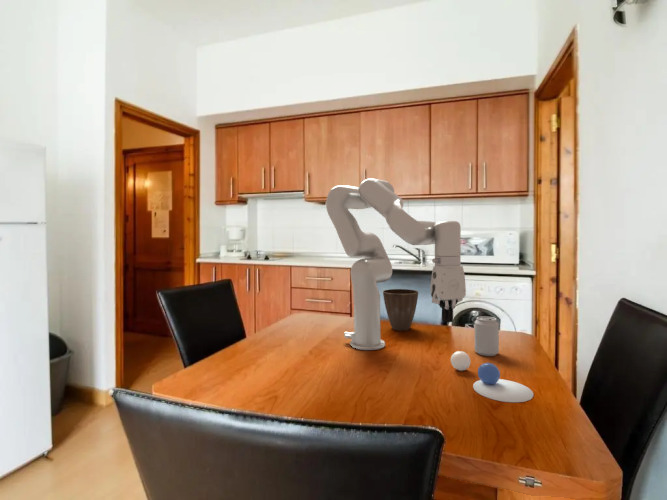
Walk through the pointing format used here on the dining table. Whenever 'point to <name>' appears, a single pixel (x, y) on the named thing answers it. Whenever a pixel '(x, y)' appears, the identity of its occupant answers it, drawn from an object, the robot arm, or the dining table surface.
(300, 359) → the dining table surface
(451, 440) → the dining table surface
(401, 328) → the plant pot
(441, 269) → the robot arm
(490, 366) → the object ball
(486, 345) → the can
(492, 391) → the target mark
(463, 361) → the cue ball
